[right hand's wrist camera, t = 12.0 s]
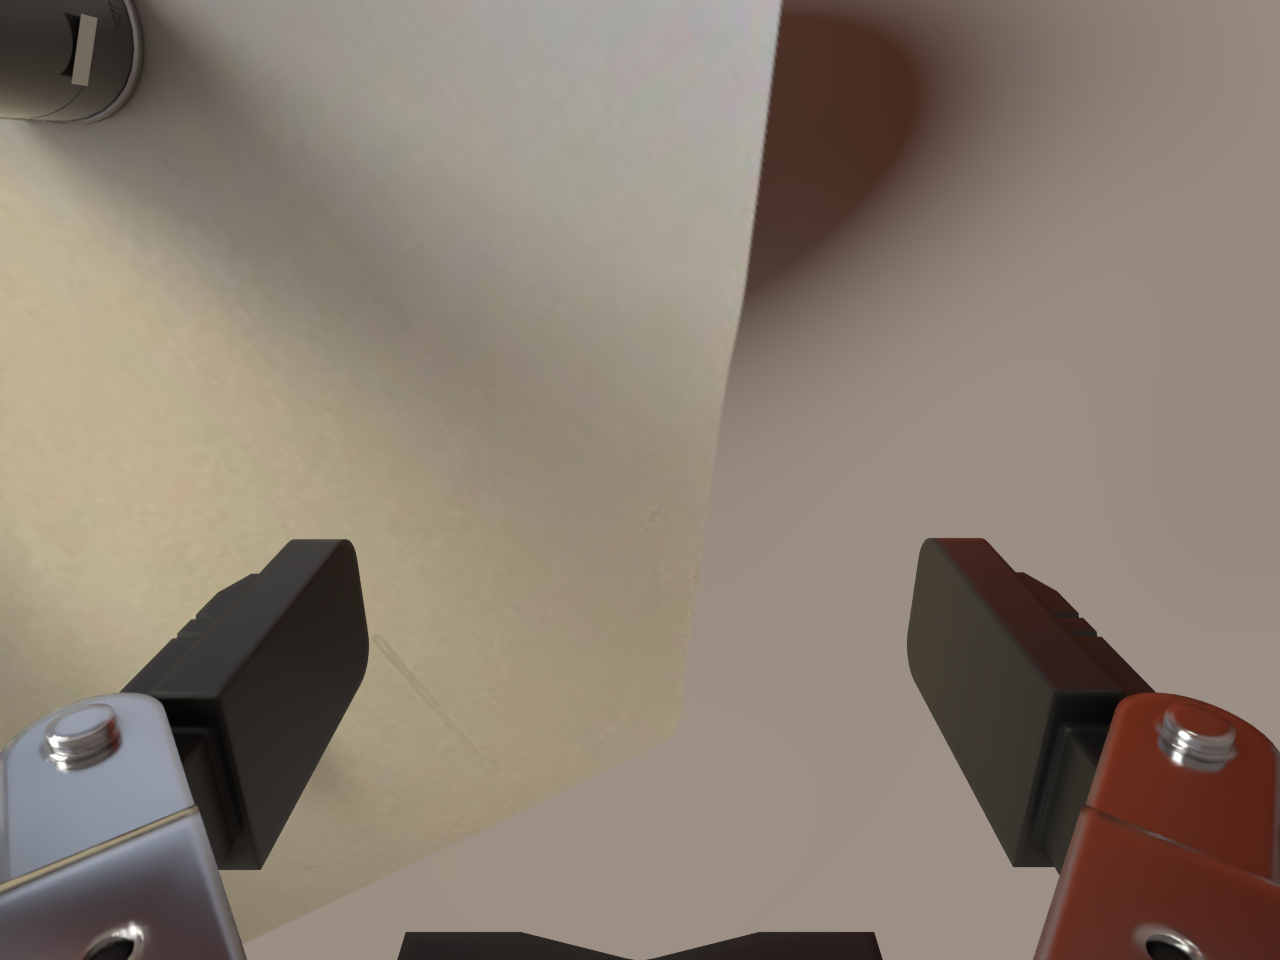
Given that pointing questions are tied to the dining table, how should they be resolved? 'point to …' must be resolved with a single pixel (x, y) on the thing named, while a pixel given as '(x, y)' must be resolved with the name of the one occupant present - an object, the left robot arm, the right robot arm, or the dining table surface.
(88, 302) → the dining table surface
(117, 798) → the right robot arm
